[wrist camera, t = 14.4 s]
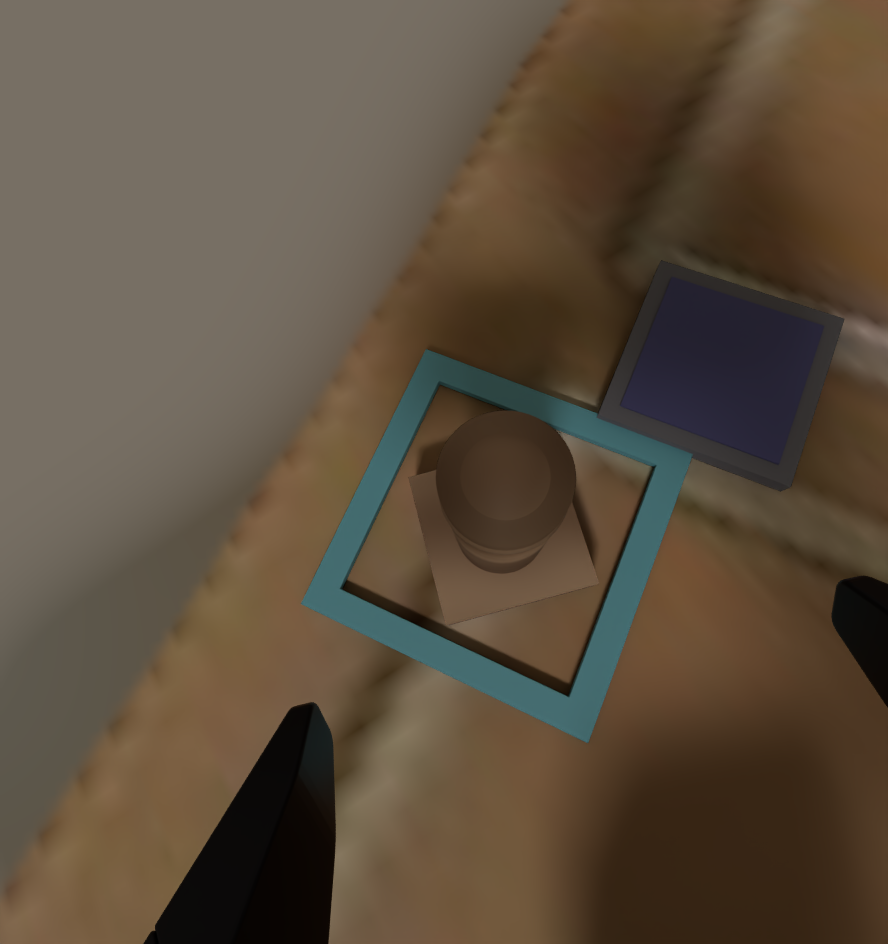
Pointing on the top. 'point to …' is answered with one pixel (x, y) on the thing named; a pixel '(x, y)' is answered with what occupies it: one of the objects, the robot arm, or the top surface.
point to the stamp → (502, 517)
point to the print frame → (453, 659)
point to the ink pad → (723, 374)
